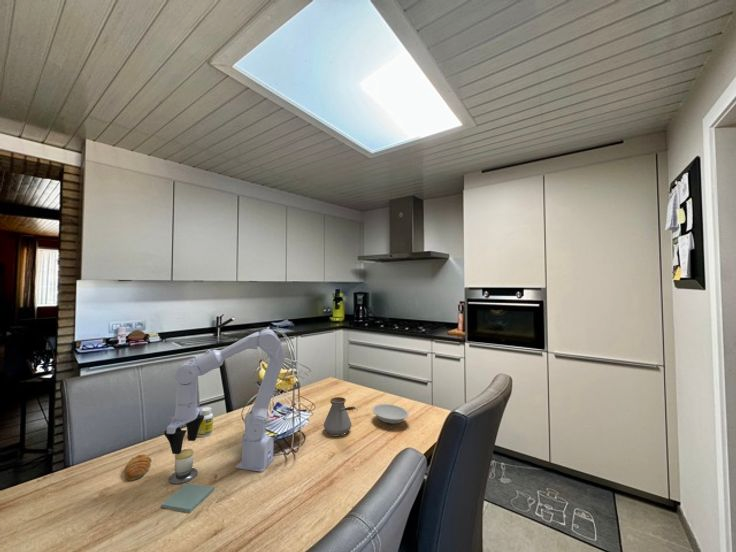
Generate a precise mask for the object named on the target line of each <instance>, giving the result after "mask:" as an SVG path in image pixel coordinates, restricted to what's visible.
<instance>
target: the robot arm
mask: <svg viewBox="0 0 736 552" xmlns="http://www.w3.org/2000/svg"><path fill="white" fill-rule="evenodd" d="M279 338H280V337H279V336H278V335H277V334H276V332H275V331H274V330H272V329H271V328H264V329H261V330H260V331H256V332H254V333H252V334H249V335H247V336H245V337H243V338H241V339H240V340H238V341H236V342H234V343H232V344H230V345H229V346H226V347H225V348H222V349H220V350H219V349H213V350H211V349H208V350H206V351H205V353H204V354H201V355H200V356H197V357H196V358H194V357H193V358H191V359H189V361H187V362H184V363H182V364H181V366H179V368H178V369H177V370H176V373H175V379H176V391H175V411H174V412H175V413H174V414H175V415H173V416H171V422H170V424H169V425H168V426H167V427H166V430H165V431H164V434H163V435H164V437H165V438H166V439H167V441H168V443H169V445H170V448H171V449H170V450H171V453H172V455H175V454H180V453H181V450H183V441H184V438H185V435H187V441H188V442H195V441H196V440H197V437H198V436H197V434H198V430H199V427H200V425H201V423H202V421H203V419H204V415H200V414H201V413H202V408H203V407H202V406H201V407H198V388H199V386H198V377H199V376H205V374H208V373H210V372H212V371H214V370H216V369H218V368H219V367H221V366H223V364H224V361H225V360H226V359H229V358H231V357H232V356H234V355H237V354H240V353H241V352H244V351H246V350H248V349H249V350H258V347H259V349H261V350H262V351H263V352H265V353H266V355H267V356H268V358H269V360H268V363H267V366H266V369H265V372H264V375H263V377H262V380H261V382H260V386H259V389H258V392H257V394H256V398H255V400H254V403H253V405H252V406H251V410H250V411H249V412H248V414H247V415H246V416H245V418H244V432H243V435H242V448H241V449H242V453H241V461H240V462H239V463H238V464H237V465H236V466H235V467H236V469H241V470H247V471H248V470H249V471H255V472H256V471H257V472H264V471H265V469H267V467H268V466H269V465H270V464H271V463H272V461H274V459H275V456H274V443H275V442H274V438H273V436H270V435H267V432H266V421H267V416H268V410H269V406H270V404H271V400H272V398H273V395H274V391H275V389H276V386H277V383H278V380H279V377H280V375H281V372H282V367H283V365H284V362H285V358H286V357H285V353H284V348H283V346H282V340H280V339H279ZM184 425H185V426H186V429H182V428H181V427H183V426H184Z"/></svg>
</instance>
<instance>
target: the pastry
mask: <svg viewBox="0 0 736 552" xmlns="http://www.w3.org/2000/svg"><path fill="white" fill-rule="evenodd" d="M151 463H152V459H151V457H149V456H148V455H147V454H137V455H136V456H134V457H132V458H131V459H129V461H128V463H127V464H126V466H124V472H123V473H124V476H125V478H126V480H128V481H133V480H137V479H141V478H142V477H144V475H146V473H148V472H149V469H150V468H151Z"/></svg>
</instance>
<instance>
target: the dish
mask: <svg viewBox="0 0 736 552" xmlns="http://www.w3.org/2000/svg"><path fill="white" fill-rule="evenodd" d="M372 412H373V414H375V415H376V417H378V419H379V420H381V421H383V422H384V423H386V424H390V425H391V424H394V425H395V424H398V423H402V421H404V420H406V418H408V417H409V412H408V411H407V409H405V408H403V407H402V406H398V405H396V404H390V403H382V404H381V403H380V404H375V405H374V406H373V407H372Z"/></svg>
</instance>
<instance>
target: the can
mask: <svg viewBox="0 0 736 552" xmlns="http://www.w3.org/2000/svg"><path fill="white" fill-rule="evenodd" d="M194 452H195V451H194V450H193V449H192V448H185V449H182V450H181V453H180V454H174V472H176V473H182V472H186V471H188V470H190V469H191V468H194V467H193V466H194Z"/></svg>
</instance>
